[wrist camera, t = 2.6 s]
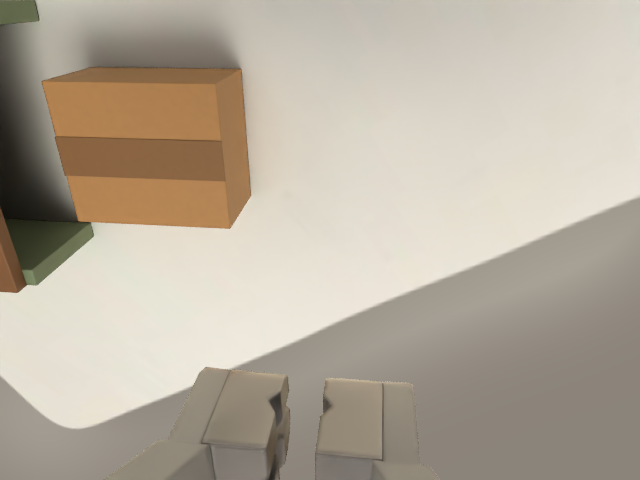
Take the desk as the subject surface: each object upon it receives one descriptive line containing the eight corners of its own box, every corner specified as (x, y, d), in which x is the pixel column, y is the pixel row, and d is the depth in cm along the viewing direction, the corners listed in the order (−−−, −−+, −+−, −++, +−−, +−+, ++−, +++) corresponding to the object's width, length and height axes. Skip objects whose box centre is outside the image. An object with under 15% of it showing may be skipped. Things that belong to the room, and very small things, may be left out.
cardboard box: (241, 68, 23) (215, 83, 19) (251, 196, 26) (230, 229, 22) (91, 66, 24) (39, 81, 20) (117, 190, 27) (77, 222, 23)
